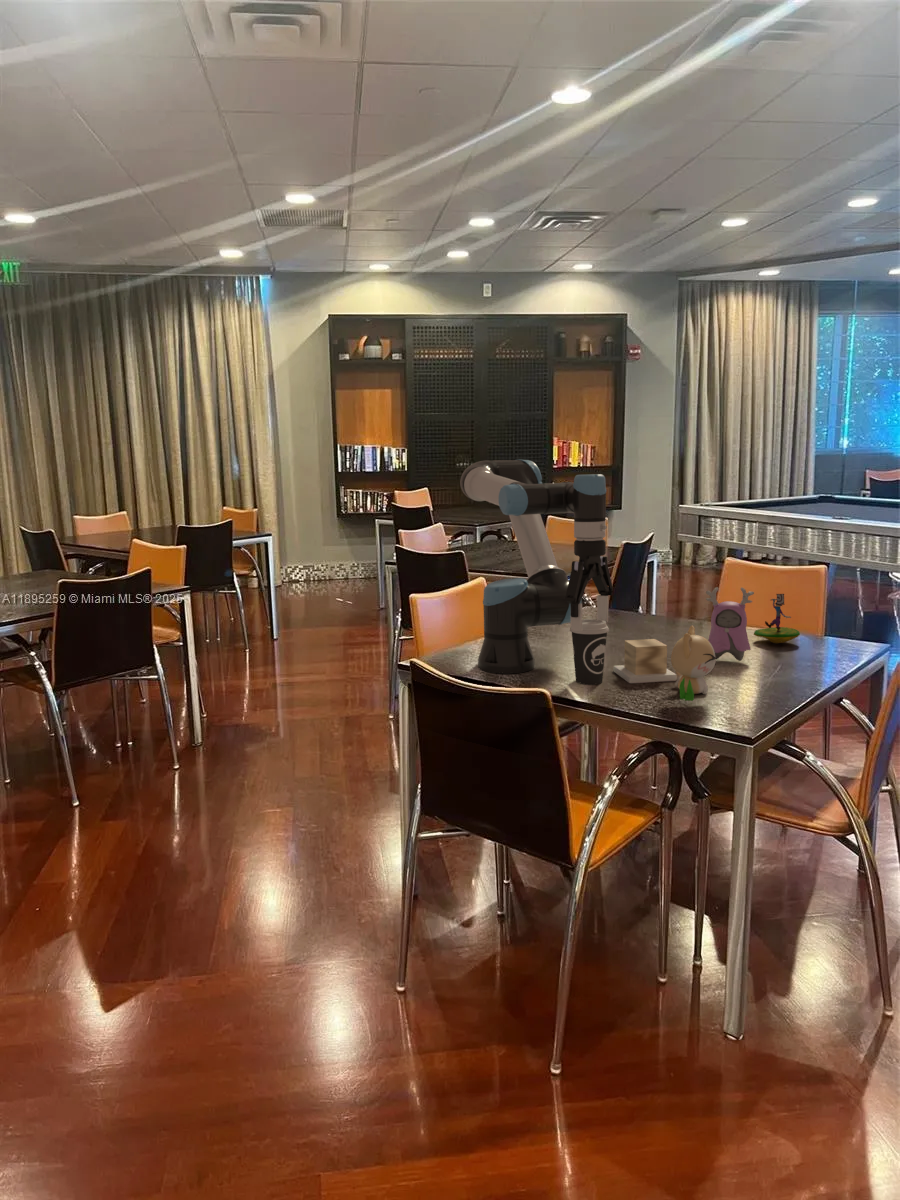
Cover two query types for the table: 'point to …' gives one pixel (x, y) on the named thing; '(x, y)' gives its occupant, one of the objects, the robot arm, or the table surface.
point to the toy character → (729, 626)
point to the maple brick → (645, 656)
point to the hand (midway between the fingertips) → (589, 625)
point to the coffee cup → (589, 651)
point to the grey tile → (643, 676)
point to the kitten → (692, 664)
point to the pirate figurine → (779, 632)
